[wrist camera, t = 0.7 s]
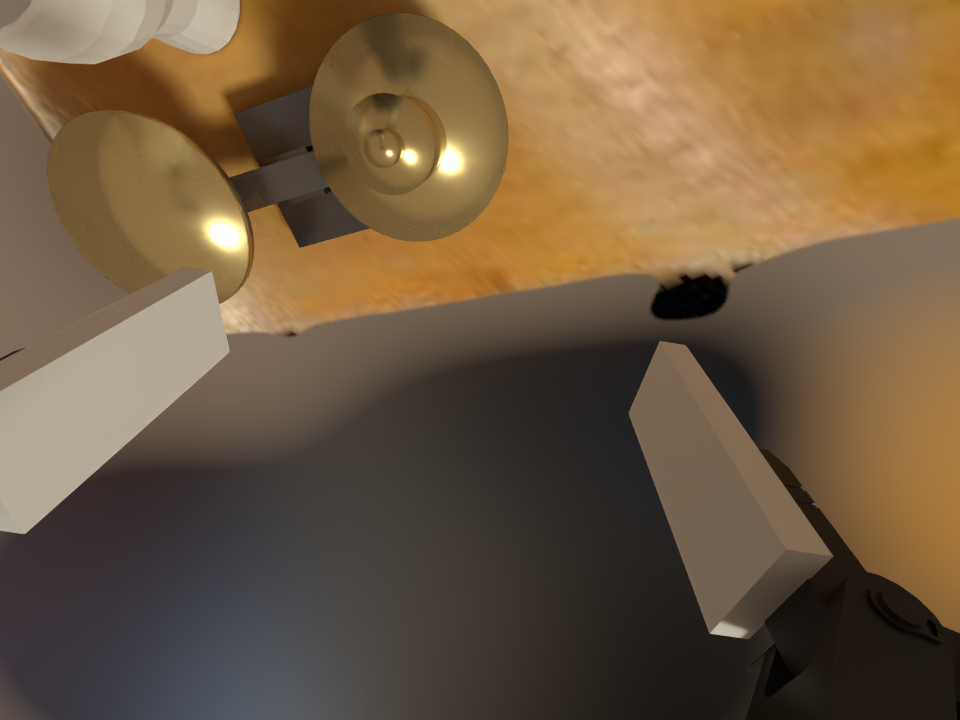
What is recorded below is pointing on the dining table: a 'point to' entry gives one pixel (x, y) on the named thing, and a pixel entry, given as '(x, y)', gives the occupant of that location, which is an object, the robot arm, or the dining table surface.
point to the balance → (294, 161)
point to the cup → (112, 27)
